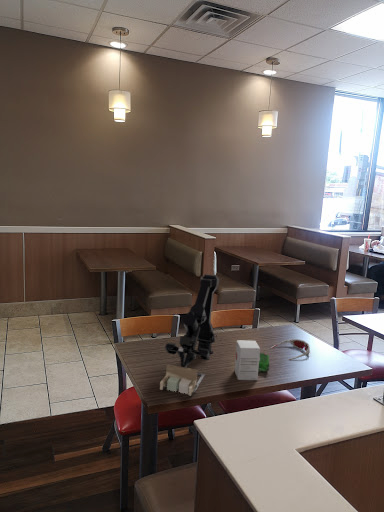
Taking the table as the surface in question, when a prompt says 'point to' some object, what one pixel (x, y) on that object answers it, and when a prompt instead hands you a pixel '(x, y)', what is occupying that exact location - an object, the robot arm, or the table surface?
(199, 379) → the steel handle
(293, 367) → the table surface
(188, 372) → the toy sofa
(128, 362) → the table surface
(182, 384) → the cream block
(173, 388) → the sage block
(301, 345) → the sunglasses
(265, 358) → the snack package
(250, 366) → the supplement box
